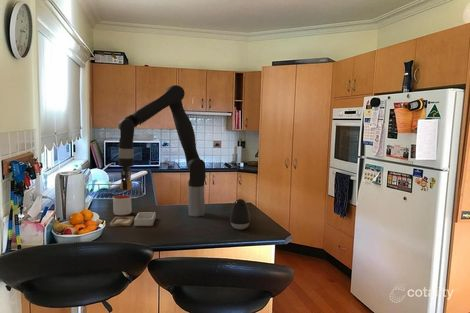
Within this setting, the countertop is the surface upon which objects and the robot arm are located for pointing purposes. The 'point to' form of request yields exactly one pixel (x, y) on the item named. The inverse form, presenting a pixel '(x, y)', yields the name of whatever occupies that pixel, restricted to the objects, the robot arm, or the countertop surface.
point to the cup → (122, 205)
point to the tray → (122, 221)
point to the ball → (129, 185)
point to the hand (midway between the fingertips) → (126, 188)
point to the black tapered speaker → (240, 215)
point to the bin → (144, 219)
